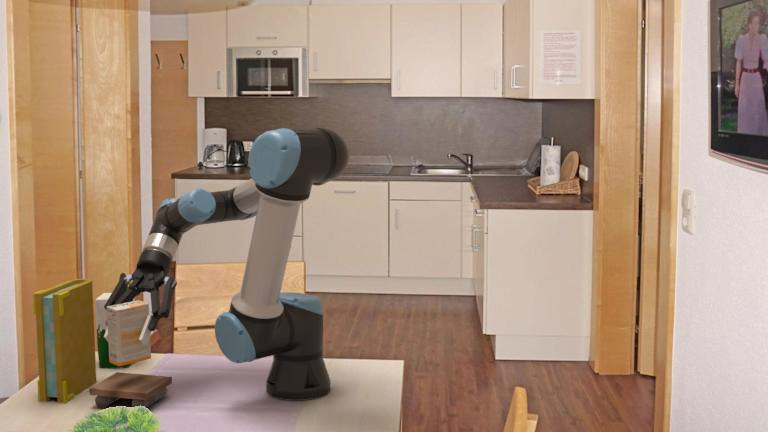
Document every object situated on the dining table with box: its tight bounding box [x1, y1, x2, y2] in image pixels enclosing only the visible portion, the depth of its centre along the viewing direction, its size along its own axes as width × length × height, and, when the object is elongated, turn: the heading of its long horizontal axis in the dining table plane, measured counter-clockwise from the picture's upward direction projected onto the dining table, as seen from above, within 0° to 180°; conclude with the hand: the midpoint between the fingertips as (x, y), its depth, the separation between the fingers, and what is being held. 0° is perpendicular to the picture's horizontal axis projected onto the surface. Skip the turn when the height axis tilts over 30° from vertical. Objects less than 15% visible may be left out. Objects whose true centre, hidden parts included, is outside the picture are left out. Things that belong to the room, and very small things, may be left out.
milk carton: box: [94, 286, 135, 369], centre depth 237 cm, size 9×9×20 cm
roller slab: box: [88, 372, 173, 409], centre depth 210 cm, size 14×12×4 cm
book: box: [32, 278, 97, 404], centre depth 216 cm, size 17×7×25 cm, turn 168°
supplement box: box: [107, 299, 152, 366], centre depth 208 cm, size 8×5×13 cm, turn 135°
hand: (125, 341), depth 207 cm, fingers closed on supplement box, 8 cm apart
